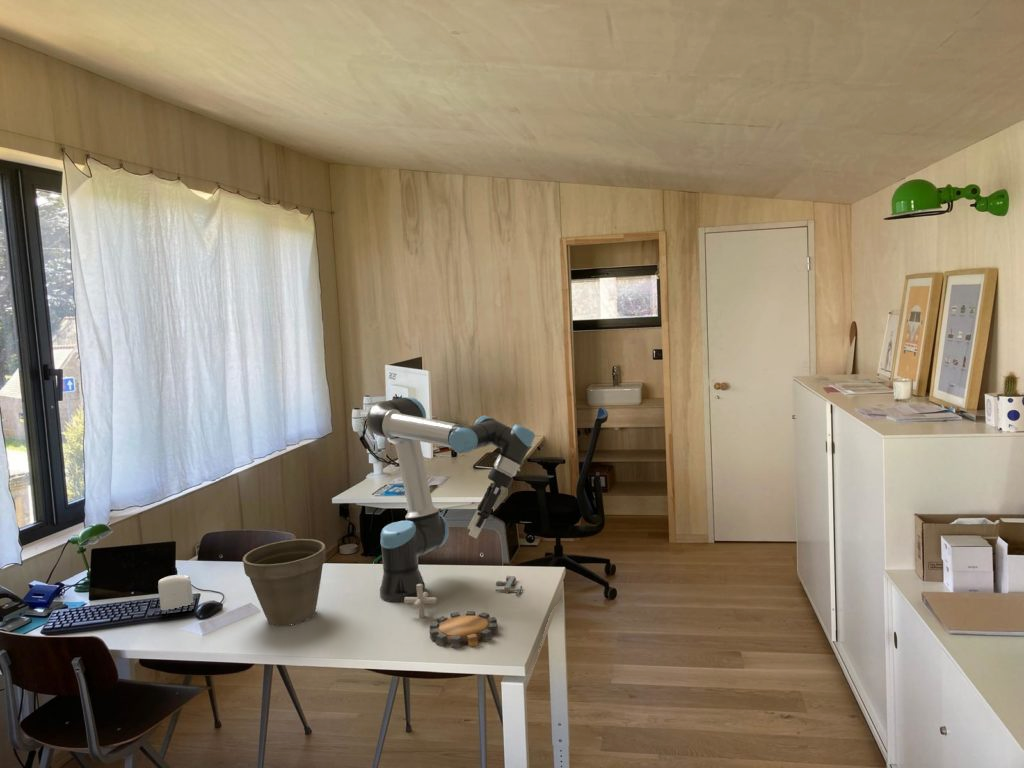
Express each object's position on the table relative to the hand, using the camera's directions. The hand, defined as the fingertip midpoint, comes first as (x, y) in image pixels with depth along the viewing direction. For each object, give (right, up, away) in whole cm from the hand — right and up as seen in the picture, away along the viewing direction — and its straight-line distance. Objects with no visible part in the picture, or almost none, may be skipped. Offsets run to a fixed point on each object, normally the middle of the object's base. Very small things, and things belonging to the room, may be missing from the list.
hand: (471, 533), depth 238 cm
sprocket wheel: (-1, -26, -15) cm, 30 cm away
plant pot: (-58, -28, +5) cm, 64 cm away
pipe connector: (-15, -26, -1) cm, 30 cm away
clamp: (+12, -23, +18) cm, 31 cm away
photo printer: (-98, -29, +16) cm, 104 cm away
